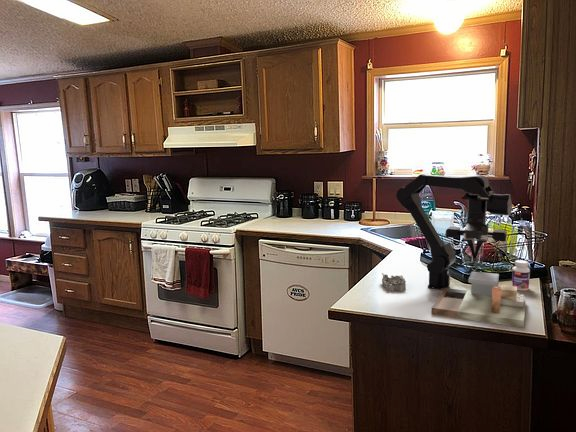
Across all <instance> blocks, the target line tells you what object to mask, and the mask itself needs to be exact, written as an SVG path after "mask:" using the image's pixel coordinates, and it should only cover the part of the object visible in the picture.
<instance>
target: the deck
mask: <svg viewBox="0 0 576 432" xmlns="http://www.w3.org/2000/svg"><path fill="white" fill-rule="evenodd" d="M517 300H518V301H520V296H517ZM526 301H527V299H526V297H524V303H523V307H518V306H511V305H503V304H500V312H492V311H491V302H492V296H488V295H480V294H472V293H471V290H465V289H458V288H457V289H455V288H449V287H448V288H443V289H441V292H440V293H439V295H438V296H437V298H436V300H435V301H434V303H433V305H432V306H431V313H430V314H431V315H437V316H441V317H442V316H444V317H451V318H457V319H463V320H469V321H470V320H471V321H477V322H484V323H490V324H497V325H504V326H511V327H517V328H522V329H523V328H524V326H525V325H524V324H525V314H526V313H525V312H526Z"/></svg>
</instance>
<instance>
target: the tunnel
mask: <svg viewBox="0 0 576 432" xmlns="http://www.w3.org/2000/svg"><path fill="white" fill-rule="evenodd" d="M499 277H500V274H499V273H491V272H490V273H489V272H484V271H483V272H481V271H471V272H470V276H469V277H468V283H469V284H470V291H471V293H472V294H480V295H488V296H492V287H494V286H496V287H499V282H500V281H499Z"/></svg>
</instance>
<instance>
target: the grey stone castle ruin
mask: <svg viewBox="0 0 576 432" xmlns="http://www.w3.org/2000/svg"><path fill="white" fill-rule="evenodd" d="M381 274H382V278H381V284H382V285H383V286H384V288H385V290H386V291H390V292H394V291H400V292H401V291H405V290H406V286H407V284H406V282H407V281H406V280H405V278H404V276H403V275H395V276H394V275H391V276H390V277H389V276H388V274H384V272H382V273H381Z"/></svg>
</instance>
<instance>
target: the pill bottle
mask: <svg viewBox="0 0 576 432" xmlns="http://www.w3.org/2000/svg"><path fill="white" fill-rule="evenodd" d="M514 265H515V266H513V267H512V272H511V273H512V274H511V286H514V287H517V291H525V292H526V291H528V290H529V288H530V278H531V277H530V276H531V269H530V268H529V261H528V260H521V259H517V260H515V261H514Z"/></svg>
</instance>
